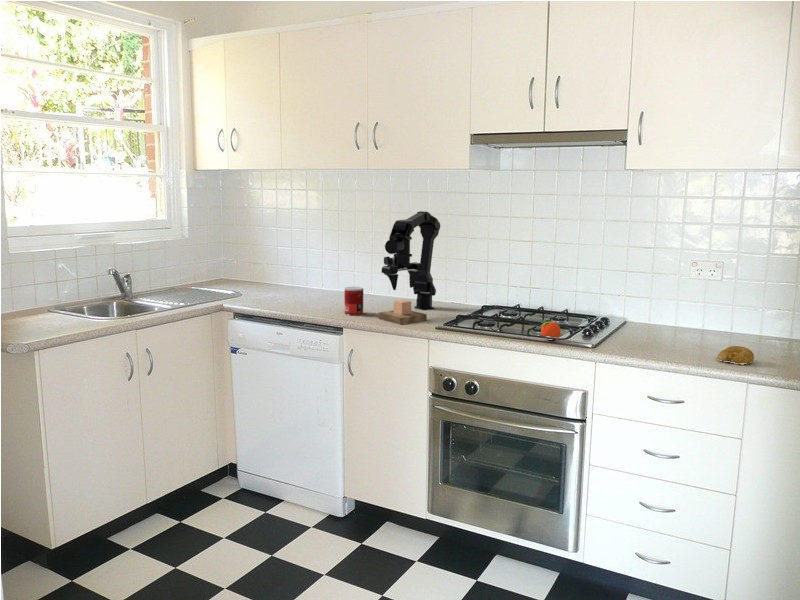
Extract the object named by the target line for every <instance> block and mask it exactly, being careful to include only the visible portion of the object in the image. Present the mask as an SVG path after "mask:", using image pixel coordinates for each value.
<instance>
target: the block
mask: <svg viewBox="0 0 800 600" xmlns="http://www.w3.org/2000/svg"><path fill="white" fill-rule="evenodd" d="M393 310H394V313H395V314H400V315H405V314H411V311H412V301H411V300H406V299H398V300H393Z"/></svg>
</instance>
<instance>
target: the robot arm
mask: <svg viewBox="0 0 800 600" xmlns="http://www.w3.org/2000/svg"><path fill="white" fill-rule="evenodd" d="M417 227H419V232H420V235H421V237H422V244H421V245H422V246H421V253H420V262H416V261H415V262H411V258H412V257H413V254H412V253H411V240H413V238H412V236H411V235H412V234H413V233H414V231H415V228H417ZM440 229H441V223H440V221H439V220H438V218H437V217H435V216H434V215H432V214H431V213H430V212H429V211H426V210H423V211H422V210H421V211H417V213H415V214H413V215H412V216H410V217H408V218H406V219H397V220H395V222H394V224H393V225H392V228H391V232H390V234H389V236H388V237H389V238H388V240H387V241H386V242H385V244H384V249H385V251H386V253H388V254H389V255H393V257H390V256H385V257H383V266H382V267H381V274H383V275H385V276H386V277H388V279H389V282H390V285H391V287H392V290H393V291H396V290H397V286H398V285H397V284H398V279H399V274H398V272H401V271H407V273H408V274H409V275H408V277H409V288H412V289H413V294H414V295H416V305H415V306H414V308H415V309H419V310H424V311H425V310H431V309H435V306H433V296H435V295H436V294H437V289H436V287H435V285H434V283H433V282H434V278H433V277H432V273H431V267H432V259H433V253H434V252H433V251H434V243H435V240H436V238H437V237H438V236H439V233H440Z"/></svg>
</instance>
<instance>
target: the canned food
mask: <svg viewBox="0 0 800 600" xmlns="http://www.w3.org/2000/svg"><path fill="white" fill-rule="evenodd" d="M363 313H364V287H361V286H347V287H344V314H345V315H347V314H349V315H348V316H360V315H359V314H362V315H363Z"/></svg>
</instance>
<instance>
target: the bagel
mask: <svg viewBox="0 0 800 600" xmlns="http://www.w3.org/2000/svg"><path fill="white" fill-rule="evenodd" d="M717 359H719V360H722V361H730V362H735V363H750V362H752V363H753V362H754V359H755V354H754V352H753V351H752V350H751V349H750V348H749V347H745V346H741V345H740V346H739V345H732V346H727V347H726V348H725V349H723V350H721V351H720V352H718V354H717V356H716V360H717ZM722 361H721V362H722Z"/></svg>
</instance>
